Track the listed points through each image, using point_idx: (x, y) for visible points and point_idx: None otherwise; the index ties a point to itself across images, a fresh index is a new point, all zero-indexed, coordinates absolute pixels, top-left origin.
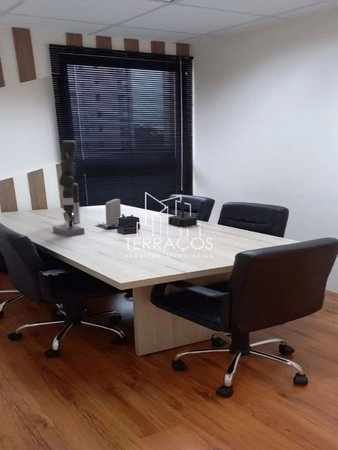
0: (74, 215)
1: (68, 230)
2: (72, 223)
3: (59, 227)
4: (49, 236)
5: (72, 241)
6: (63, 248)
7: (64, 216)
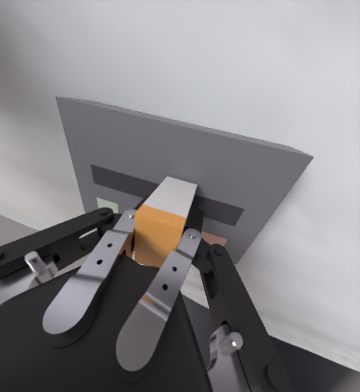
0: (281, 372)
1: (232, 253)
2: (189, 209)
3: (122, 213)
4: None
5: (323, 293)
6: (343, 347)
7: (73, 257)
